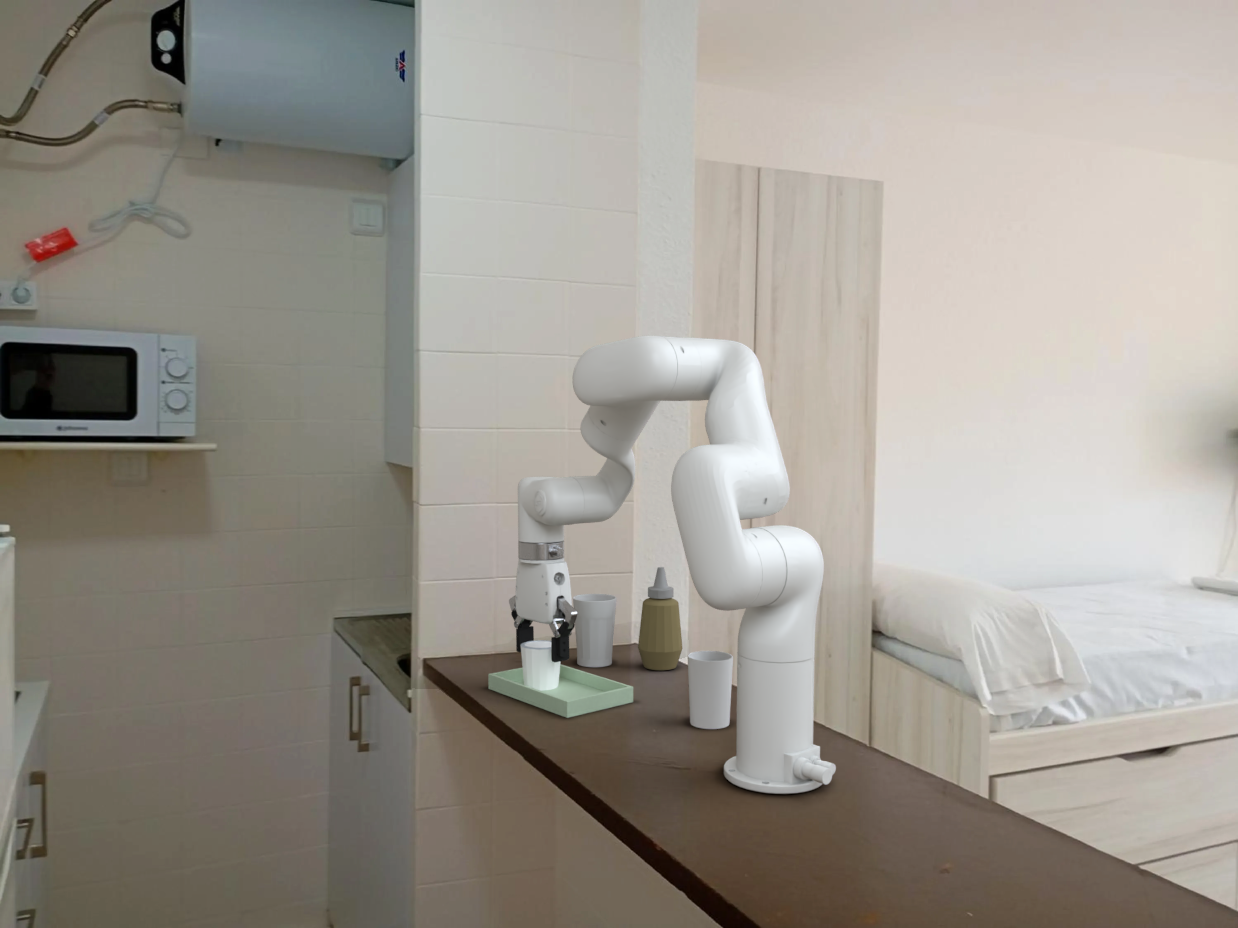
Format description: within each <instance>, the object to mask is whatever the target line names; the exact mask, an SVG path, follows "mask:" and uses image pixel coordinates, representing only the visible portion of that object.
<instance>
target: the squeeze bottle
mask: <svg viewBox="0 0 1238 928" xmlns="http://www.w3.org/2000/svg"><path fill="white" fill-rule="evenodd" d="M674 590H675V589H674V587H672V586H669V585H668V579H667V576H666V569H665V567H664V566H658V567H657V568H656V574H655V579H654V582H653V585H652V586H648V587H647V597H648V598H645V599H644V600H643V601H642V605H641V606H642V607H641V617H640V623H639V624H640V626H639V635H638V645H637V649H638V653H639V655H640V659H641V662H642V666H643V667H644V668H645V669H648V670H652V671H669V670H673V669H676V668H677V666H678V663H679V660H680V658H681V654H682V651H683V640H682V639H683V638H682V627H681V615H680V604H679V601H678V600H677V599H675V598H674V594H675V593H674Z"/></svg>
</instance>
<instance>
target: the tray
mask: <svg viewBox="0 0 1238 928" xmlns="http://www.w3.org/2000/svg"><path fill="white" fill-rule="evenodd" d="M487 676H488V678H487V680H488V682H487V683H488V690H490V691H493V692H495V693H498V694H501V695H504V696H507V697H510V698H513V699H515V700H517V701H520V702H523V703H526V704H528V705H531V706H534V707H537V708H539V709H542V710H545V711H547V712H550V713H553V714H555V715H557V716H560V717H563V718H567V719H569V718H573V717H577V716H582V715H586V714H590V713H593V712H598V711H603V710H607V709H610V708H614V707H619V706H623V705H627V704H631V703H634V686H633V685H629V684H625V683H622V682H619V681H616V680H614V679H609V678H606V677H603V676H601V675H597V674H593V673H590V672H587V671H584V670H581V669H577V668H574V667H572V666H568V665H564V664H561V663H560V674H559V684H558V687H557V688H555V689H552V690H543V691H540V690H537V689H534V688H531V687H529V686H526V685H524V678H523V667H518V668H513V669H507V670H502V671H497V672H492V673H488V674H487Z"/></svg>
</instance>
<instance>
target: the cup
mask: <svg viewBox="0 0 1238 928" xmlns="http://www.w3.org/2000/svg"><path fill="white" fill-rule="evenodd" d="M617 600H618V597H617V596H616V595H612V594H607V593H583V594H578V595H574V596H573V597H572V607H573V608H574V609H575V610H576V611H577V618H576V621H575V627H574V632H575V643H576V645H575V646H576V664H577V665H579V666H581V667H586V668H604V667H608V666H611V665H612V664H613V650H614V649H613V647H614V635H615V623H616V612H617V611H616V610H617V602H618V601H617Z"/></svg>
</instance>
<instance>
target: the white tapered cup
mask: <svg viewBox="0 0 1238 928" xmlns="http://www.w3.org/2000/svg"><path fill="white" fill-rule="evenodd" d="M520 654H521V665H522V667H523V678H524V685H526V686H529V687H531V688H534V689H537V690H540V691H543V690H552V689H555V688H557V687H558V684H559V674H560V664H561V662H562V661H560V662H552V657H551V640H548V639H547V640H545V639H541V640H538V639H537V640H535V639H534V641H528V642H524V643H522V644H521V652H520ZM522 667H521V668H522Z"/></svg>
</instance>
